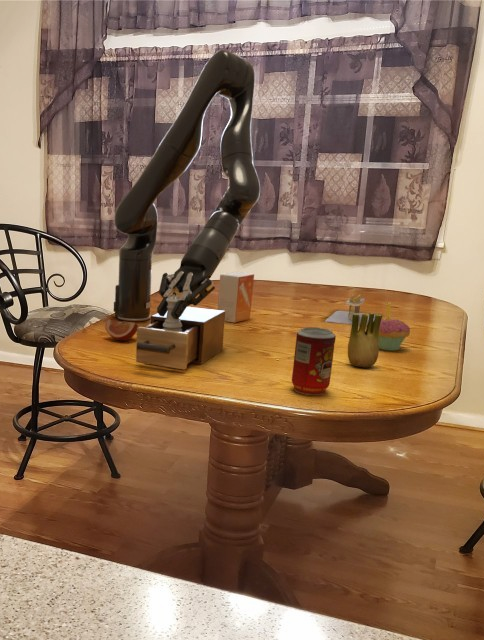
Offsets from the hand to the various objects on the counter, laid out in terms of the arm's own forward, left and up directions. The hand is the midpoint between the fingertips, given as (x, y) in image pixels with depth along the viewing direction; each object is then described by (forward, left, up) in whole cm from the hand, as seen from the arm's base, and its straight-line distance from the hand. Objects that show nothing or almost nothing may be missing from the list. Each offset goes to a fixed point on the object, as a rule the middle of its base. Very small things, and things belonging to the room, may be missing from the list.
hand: (167, 315), depth 148 cm
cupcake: (+41, +42, -11) cm, 59 cm away
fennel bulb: (+38, +22, -11) cm, 45 cm away
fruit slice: (-18, +16, -11) cm, 27 cm away
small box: (-1, +54, -11) cm, 55 cm away
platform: (+28, +74, -11) cm, 80 cm away
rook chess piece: (+1, +2, -4) cm, 5 cm away
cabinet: (+1, +12, -11) cm, 16 cm away
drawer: (+1, 0, -10) cm, 10 cm away
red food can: (+32, -2, -11) cm, 34 cm away
